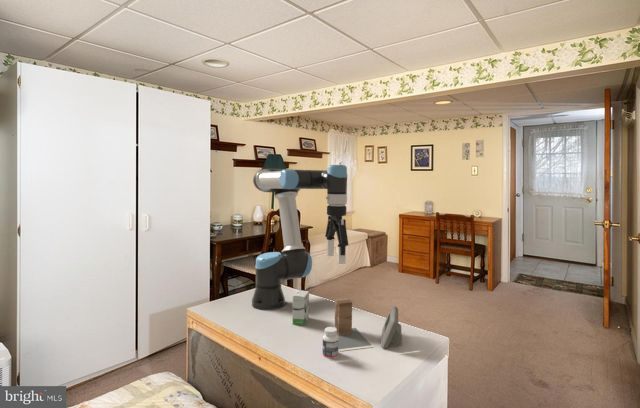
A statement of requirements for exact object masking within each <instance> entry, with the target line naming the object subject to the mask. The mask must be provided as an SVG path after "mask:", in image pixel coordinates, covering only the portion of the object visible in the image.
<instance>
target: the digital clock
mask: <svg viewBox="0 0 640 408" xmlns="http://www.w3.org/2000/svg"><path fill="white" fill-rule="evenodd" d="M390 307H391V308H390V309H389V312H388V314H387V317H386V320H385V321H384V324H383V326H382V329H381V339H380V346H381V348H382V349H383V350H387V349H388V348H389V346H391V347H392V346H394V347H402V342H403V338H402V325H401V324H400V323H399V308H398V307H397V306H396V305H392V306H390Z"/></svg>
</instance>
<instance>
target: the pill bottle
mask: <svg viewBox="0 0 640 408" xmlns="http://www.w3.org/2000/svg"><path fill="white" fill-rule="evenodd" d="M338 344H339V337H338V335H337V329H336V328H335V326H327V327H326V328H324V334H323V336H322V356H323V357H324V358H326V359H336V358H338V357H339V356H340V355H339V352H340V351H339V349H338Z"/></svg>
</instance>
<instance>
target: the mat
mask: <svg viewBox="0 0 640 408" xmlns="http://www.w3.org/2000/svg"><path fill="white" fill-rule="evenodd" d="M337 335H338V334H337ZM338 337H339V344H338V351H339V352H348V351H350V352H351V351H356V350H357V351H358V350H365V349H373V348H374V346H373V345H372V344H371V343H370V341H368V340H367V338H366V337H365V336H364V335H363V334H362V333H361V332H360V331H359V330H358V328H356V327H352V334H348V335H338Z"/></svg>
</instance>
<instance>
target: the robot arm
mask: <svg viewBox="0 0 640 408" xmlns="http://www.w3.org/2000/svg"><path fill="white" fill-rule="evenodd" d="M252 183H253V185H254V187H255V188H256V189H257V190H258V191H260V192H263V193H273V194H274V198H275V199H276V200H277V201H278V208H279V210H278V211H279V217H280V224H281V226H280V227H281V230H282V231H281V232H282V233H281V234H282V240H283V249H282V250H281V252H280V251H273V252H272V251H270V252H265V253H262V254H259V255H258V256H257V257H256V258H255V265H254V267H255V288H254V293H253V296H252V298H251V306H252V307H253V308H255V309H258V310H266V311H268V310H270V311H271V310H277V309H280V308H282V307H284V306H285V304H286V298H285V295H284V292H283V289H282V281H285V280H286V281H287V280H294V279H301V278H305V277H308V275H310V274H311V271H312V266H313V258H312V256H311V254H310V253H309V252H307V251H306V247H305V246H303V244H302V236H301V231H300V221H299V215H298V208H297V206H298V205H297V200H296V199H297V197H298V195H299V192H300V191H301V190H323V189H324V190H326V193H327V194H326V196H325V198H326V203H327V206H326V215H327V225H326V230H325V235H324V236H325V238H326V256H327V257H334V256H335V240H336V238H335V235H336V237H337V240H338V241H337V242H338V244H337V264H339V265H343V264H346V260H347V259H346V256H347V255H346V254H347V252H346V250H347V249H346V248H347V247H348V246H349V239H348V233H347V226H346V221H347V220H346V219H345V218H344V219H343V216H347V204H348V203H347V201H348V193H347V191H348V188H347V187H348V167H347V165H345V164H328V166H327V170H326V169H324V170H322V169H321V170H320V169H316V170H315V169H293V168H290V169H289V168H263V169H260V170H258V171H257V172H256V173H255V174H254V175H253V179H252Z"/></svg>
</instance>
